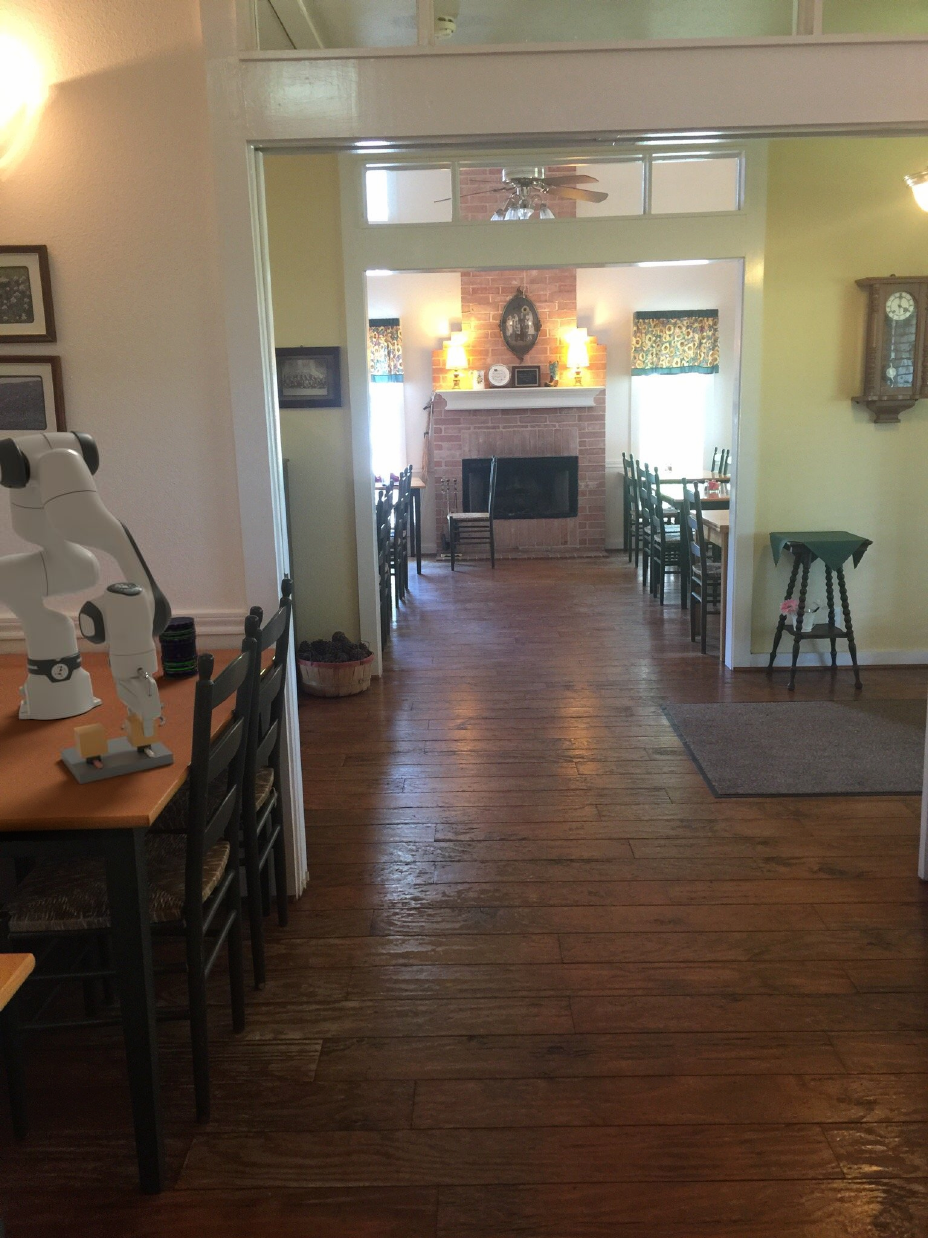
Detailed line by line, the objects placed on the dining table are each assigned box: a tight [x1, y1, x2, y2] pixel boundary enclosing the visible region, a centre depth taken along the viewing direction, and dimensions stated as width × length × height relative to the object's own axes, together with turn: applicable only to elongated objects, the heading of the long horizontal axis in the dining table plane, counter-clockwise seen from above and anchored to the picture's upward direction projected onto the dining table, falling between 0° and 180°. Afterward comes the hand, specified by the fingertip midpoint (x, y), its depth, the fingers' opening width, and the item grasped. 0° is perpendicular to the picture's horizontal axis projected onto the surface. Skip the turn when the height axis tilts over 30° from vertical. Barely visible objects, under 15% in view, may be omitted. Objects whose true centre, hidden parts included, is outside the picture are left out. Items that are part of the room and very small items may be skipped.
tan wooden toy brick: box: [124, 715, 159, 747], centre depth 199 cm, size 5×5×5 cm
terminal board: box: [60, 722, 174, 785], centre depth 200 cm, size 18×18×9 cm
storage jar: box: [158, 616, 199, 680], centre depth 266 cm, size 10×10×15 cm
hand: (142, 730), depth 199 cm, fingers open, 8 cm apart
